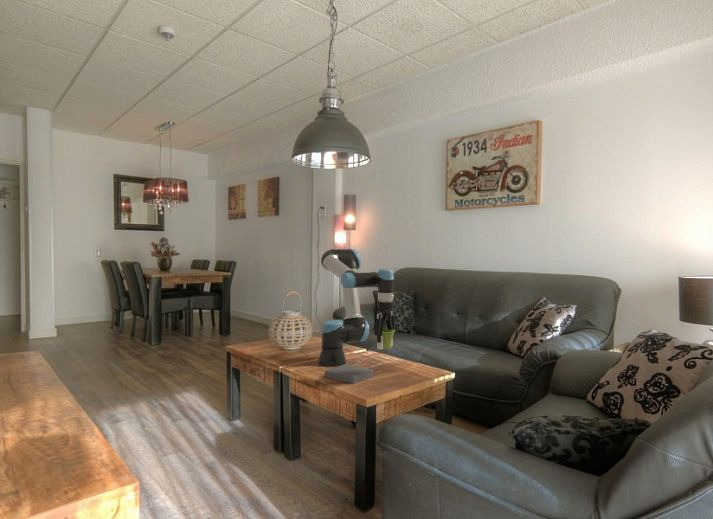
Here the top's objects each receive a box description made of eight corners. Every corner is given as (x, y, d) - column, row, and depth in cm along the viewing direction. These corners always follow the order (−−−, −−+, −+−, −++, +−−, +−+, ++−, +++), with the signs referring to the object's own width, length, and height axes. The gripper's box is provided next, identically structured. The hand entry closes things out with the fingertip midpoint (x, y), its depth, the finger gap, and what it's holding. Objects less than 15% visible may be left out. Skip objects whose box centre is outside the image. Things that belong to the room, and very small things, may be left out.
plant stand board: (324, 376, 209) (324, 370, 209) (345, 369, 221) (345, 364, 221) (353, 383, 198) (353, 377, 198) (373, 376, 211) (373, 370, 210)
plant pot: (380, 350, 202) (381, 332, 201) (371, 346, 210) (372, 329, 210) (397, 349, 205) (398, 331, 205) (388, 345, 214) (388, 327, 214)
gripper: (380, 303, 196) (379, 352, 197) (403, 299, 213) (402, 344, 214) (366, 302, 201) (366, 350, 201) (390, 298, 218) (389, 342, 218)
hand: (384, 347), depth 208 cm, fingers closed on plant pot, 8 cm apart
